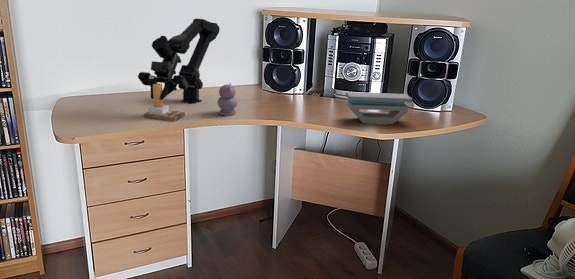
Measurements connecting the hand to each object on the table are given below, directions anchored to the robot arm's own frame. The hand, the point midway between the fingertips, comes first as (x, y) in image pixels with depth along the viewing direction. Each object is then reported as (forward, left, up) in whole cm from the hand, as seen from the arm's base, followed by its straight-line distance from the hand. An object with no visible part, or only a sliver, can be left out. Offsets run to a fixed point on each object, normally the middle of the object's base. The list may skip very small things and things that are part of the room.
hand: (156, 99), depth 165 cm
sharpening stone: (-54, +68, -7) cm, 87 cm away
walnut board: (-2, +2, -7) cm, 8 cm away
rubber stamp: (-1, 0, -6) cm, 6 cm away
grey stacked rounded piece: (-22, +17, -7) cm, 28 cm away
